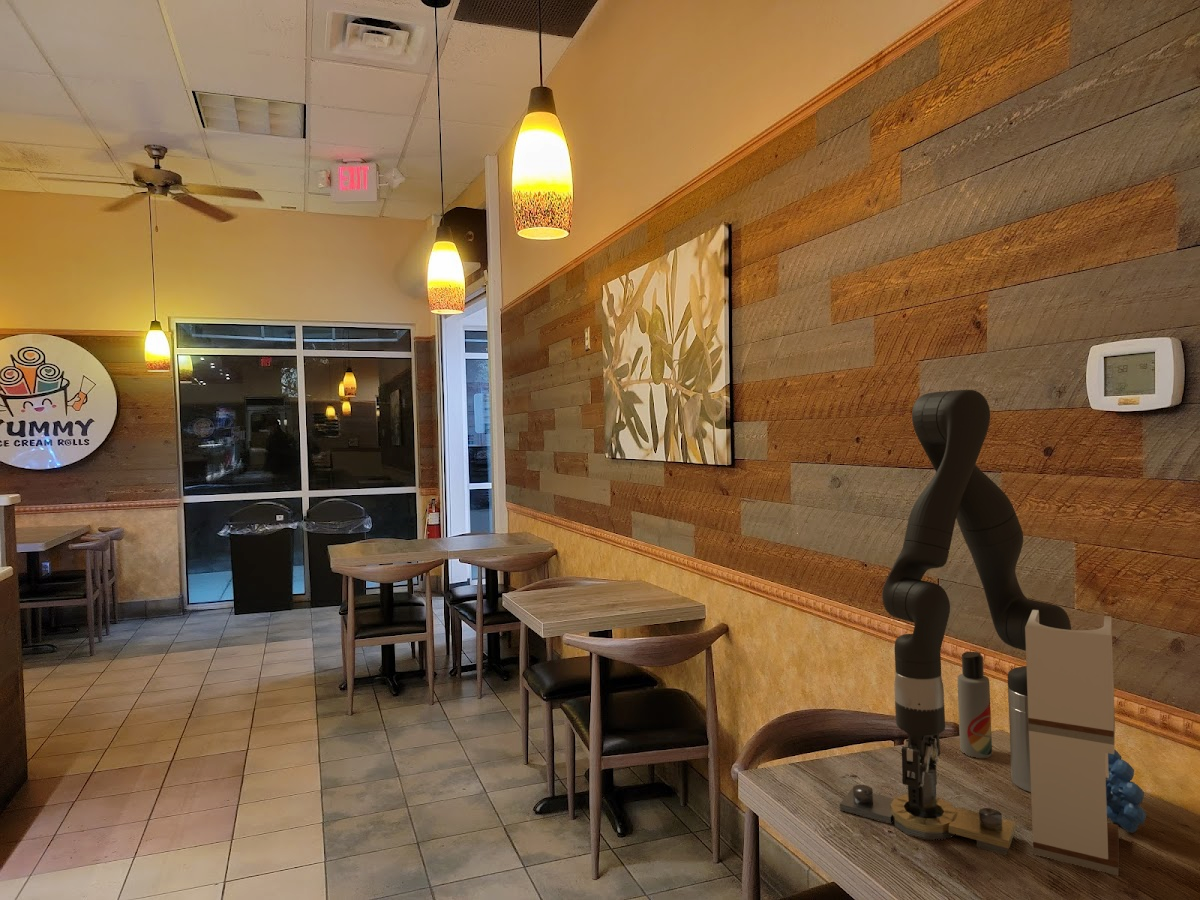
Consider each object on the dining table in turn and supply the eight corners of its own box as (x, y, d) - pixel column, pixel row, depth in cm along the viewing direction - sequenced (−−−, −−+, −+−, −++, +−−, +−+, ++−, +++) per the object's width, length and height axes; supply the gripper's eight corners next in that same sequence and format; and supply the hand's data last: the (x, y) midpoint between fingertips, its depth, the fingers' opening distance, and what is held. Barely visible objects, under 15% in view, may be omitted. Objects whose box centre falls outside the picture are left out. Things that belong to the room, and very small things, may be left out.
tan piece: (855, 790, 136) (854, 766, 135) (1017, 831, 120) (1016, 804, 120) (836, 815, 128) (835, 790, 127) (1007, 862, 112) (1006, 833, 112)
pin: (914, 814, 127) (912, 762, 126) (940, 820, 124) (937, 767, 124) (908, 825, 123) (906, 771, 123) (934, 831, 121) (932, 777, 121)
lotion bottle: (996, 759, 145) (992, 657, 144) (964, 758, 146) (960, 657, 145) (987, 746, 150) (983, 648, 150) (956, 746, 151) (952, 648, 151)
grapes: (1068, 806, 127) (1066, 736, 126) (1109, 804, 126) (1107, 735, 126) (1113, 844, 115) (1111, 768, 115) (1158, 843, 115) (1156, 766, 114)
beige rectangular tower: (1118, 875, 107) (1110, 635, 106) (1033, 854, 113) (1025, 627, 112) (1118, 837, 117) (1111, 616, 116) (1040, 820, 123) (1032, 609, 122)
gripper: (932, 718, 115) (937, 821, 116) (953, 689, 127) (957, 783, 127) (883, 709, 120) (887, 808, 120) (907, 682, 131) (911, 773, 132)
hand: (923, 795), depth 124 cm, fingers open, 8 cm apart
